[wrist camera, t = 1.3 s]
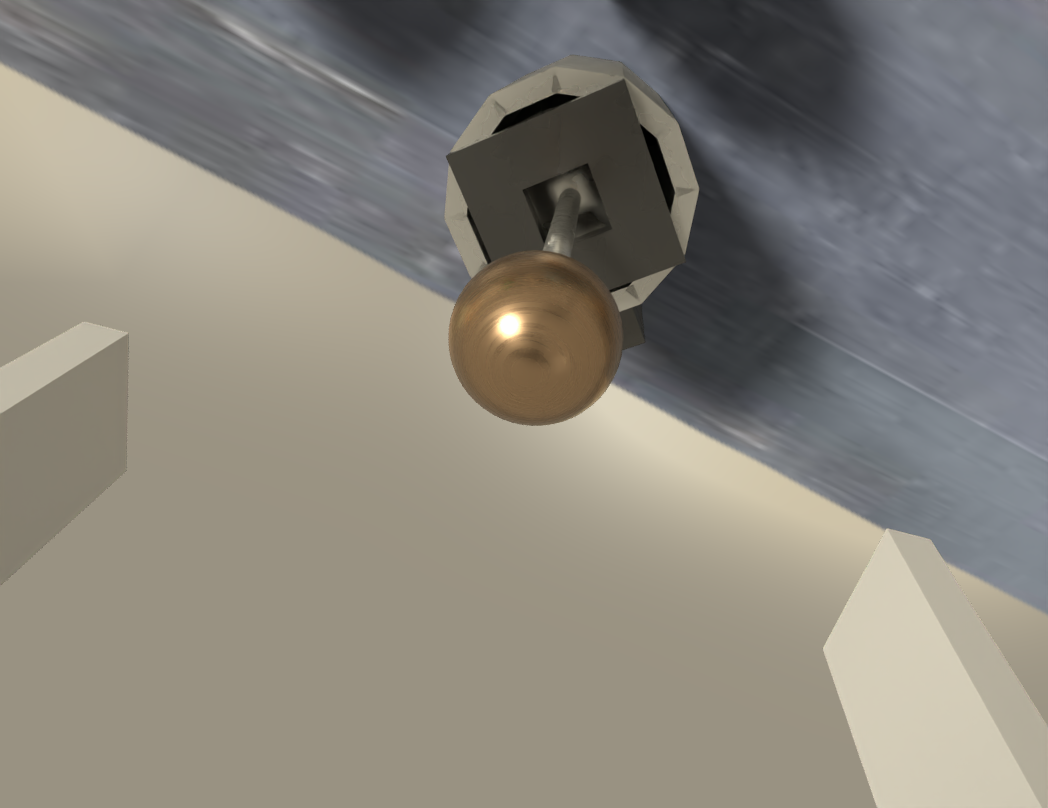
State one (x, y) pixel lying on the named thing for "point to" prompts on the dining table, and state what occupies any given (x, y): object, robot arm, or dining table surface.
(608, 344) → the plunger
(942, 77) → the dining table surface
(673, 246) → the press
